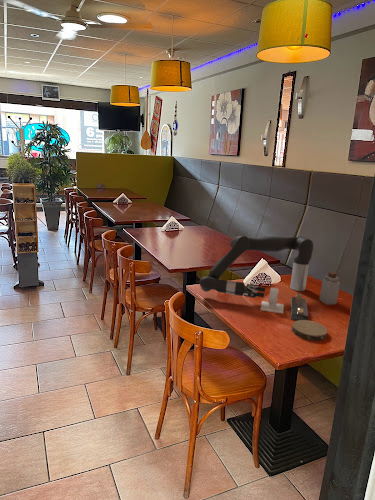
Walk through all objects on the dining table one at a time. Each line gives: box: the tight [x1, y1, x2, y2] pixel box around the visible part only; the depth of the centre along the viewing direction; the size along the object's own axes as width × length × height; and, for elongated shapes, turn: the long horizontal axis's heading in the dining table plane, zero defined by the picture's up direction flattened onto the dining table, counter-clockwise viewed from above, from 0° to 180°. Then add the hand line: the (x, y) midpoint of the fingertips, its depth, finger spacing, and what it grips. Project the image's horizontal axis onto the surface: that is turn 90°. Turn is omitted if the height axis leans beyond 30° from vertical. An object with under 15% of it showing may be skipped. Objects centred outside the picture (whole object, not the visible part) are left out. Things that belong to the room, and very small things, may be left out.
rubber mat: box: [260, 300, 285, 314], centre depth 204 cm, size 12×12×1 cm
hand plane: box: [290, 292, 309, 321], centre depth 200 cm, size 24×8×6 cm, turn 165°
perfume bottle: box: [319, 271, 341, 306], centre depth 214 cm, size 7×7×18 cm
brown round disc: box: [291, 320, 328, 342], centre depth 177 cm, size 16×16×3 cm
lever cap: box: [268, 287, 279, 309], centre depth 202 cm, size 5×4×10 cm
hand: (264, 292), depth 203 cm, fingers open, 8 cm apart
